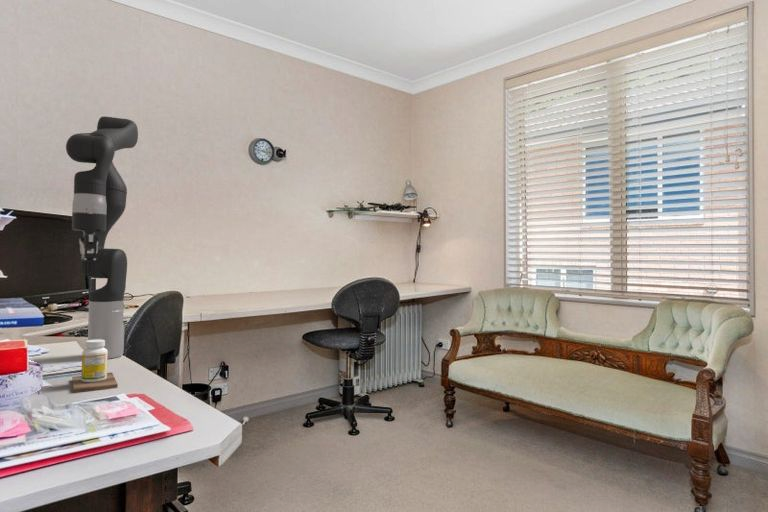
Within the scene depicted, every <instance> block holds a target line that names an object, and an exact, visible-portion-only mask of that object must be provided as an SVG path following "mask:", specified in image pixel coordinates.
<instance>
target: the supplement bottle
mask: <svg viewBox="0 0 768 512" xmlns="http://www.w3.org/2000/svg"><path fill="white" fill-rule="evenodd" d="M104 346H105V340H101V339H96V340H88V339H87V340H86V341H85V348H86V349H84V350H83V351H82V353H81V375H80V376H81V380H82V381H83V382H86V383H93V382H100V381H103V380H105V379H106V378H107V373H108V351H107V349H106V348H104Z"/></svg>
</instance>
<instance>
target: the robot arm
mask: <svg viewBox="0 0 768 512" xmlns="http://www.w3.org/2000/svg"><path fill="white" fill-rule="evenodd" d="M96 125H97V126H96V130H94V131H92V132H80V133H75V134H73V135H71V136H69V138H68V139H67V141H66V142H65V143H66V144H65V149H66V153H67V155H68V156H69V158H70V159H71V160H73V161H74V162H77V163H82V164H87V163H88V164H95V166H94V167H93V168H92V169H89V170H83V171H78V172H76V173H75V174H74V176H73V181H74V182H73V198H72V203H71V204H72V207H71V208H72V210H71V211H72V212H71V230H73V231H79V232H80V231H81V232H82V233H83V234H82V235H81V237H79V242H78V243H79V253H80V259H81V262H82V263H81V274H83V275H84V276H85V277H88V278H91V279H107V280H106V283H105V284H104V285H103V286H101V287H99V288H97V289H94V290H92V291H90V292H89V294H88V318H87V319H88V325H87V326H88V327H87V330H88V331H87V341H88V340H96V339H101V340H105V346H104V348H106V349H107V351H108V359H114V358H115V359H116V358H120V357H122V356H123V354H124V352H125V351H124V350H125V324H124V303H125V299H124V298H125V292H126V285H127V273H128V271H127V270H128V258H127V254H126V252H125V251H124V250H123V249H120V248H105V243H106V240H107V236H108V234H109V232H110V231H111V230H112V228H113V227H114V225H115V224H116V223H117V222H118V220H119V219H120V218H121V217H122V216H123V215H124V212H125V210H126V205H127V194H128V188H127V185H126V183H125V181H124V179H123V178H122V176H121V174H120V173H119V171H118V170H117V168H116V166H115V164H114V162H113V161H114V158H115V152H117V151H120V150H124V149H133V148H134V147H135V146H136V145H137V143H138V139H139V130H138V125H137V124H136V123H135V121H133V120H132V119H127V118H119V117H112V116H101V117H100V118H99V119H98V121H97V124H96Z"/></svg>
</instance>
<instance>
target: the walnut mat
mask: <svg viewBox="0 0 768 512" xmlns="http://www.w3.org/2000/svg"><path fill="white" fill-rule="evenodd" d="M71 379H72V388H73V389H72V390H73V393H75V394H76V393H82V392H92V391H93V392H94V391H100V390H108V389H117V388H118V382H117V380H116V377H115V376H114V374H113V372H107V378H106V379H105V380H103V381H100V382H93V383H86V382H83V381H82V380H81V375H78V376H77V375H75V376H72V378H71Z"/></svg>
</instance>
